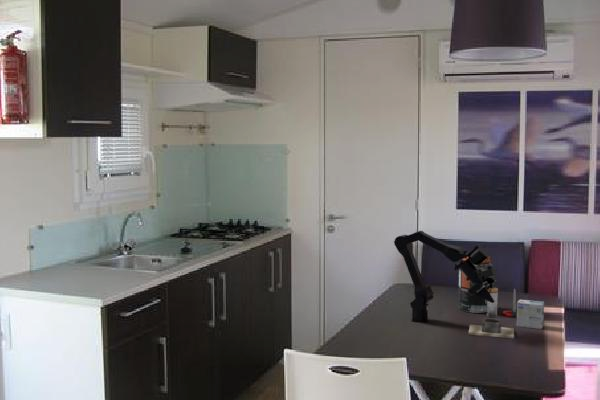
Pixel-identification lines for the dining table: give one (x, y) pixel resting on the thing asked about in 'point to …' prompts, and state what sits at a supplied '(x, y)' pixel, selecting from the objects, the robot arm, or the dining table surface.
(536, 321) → the light bulb box
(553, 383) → the dining table surface
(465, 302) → the supplement tub
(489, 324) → the block
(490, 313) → the pin
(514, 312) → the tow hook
